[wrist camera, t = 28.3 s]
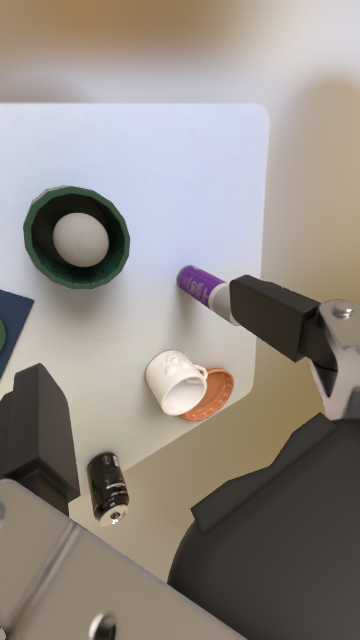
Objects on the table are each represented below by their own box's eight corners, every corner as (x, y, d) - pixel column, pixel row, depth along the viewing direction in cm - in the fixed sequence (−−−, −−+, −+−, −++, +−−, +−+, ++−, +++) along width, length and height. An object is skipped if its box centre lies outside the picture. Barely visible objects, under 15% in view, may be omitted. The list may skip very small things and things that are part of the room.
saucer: (169, 382, 53) (175, 391, 51) (226, 353, 58) (234, 360, 56) (179, 422, 62) (184, 431, 60) (227, 394, 67) (234, 401, 65)
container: (173, 271, 41) (226, 304, 29) (196, 260, 42) (255, 289, 31) (180, 293, 44) (231, 332, 32) (201, 283, 45) (257, 317, 33)
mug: (194, 336, 51) (219, 361, 44) (193, 372, 56) (215, 399, 49) (141, 352, 46) (160, 383, 39) (145, 390, 51) (162, 423, 44)
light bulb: (102, 243, 33) (121, 261, 25) (63, 257, 32) (71, 281, 24) (85, 202, 30) (101, 208, 22) (41, 215, 28) (42, 226, 21)
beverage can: (95, 474, 56) (107, 531, 46) (79, 464, 52) (88, 524, 42) (121, 456, 57) (137, 508, 48) (107, 444, 53) (122, 499, 44)
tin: (14, 247, 29) (7, 265, 22) (45, 166, 27) (48, 161, 21) (93, 279, 35) (106, 301, 29) (124, 216, 33) (145, 224, 27)
